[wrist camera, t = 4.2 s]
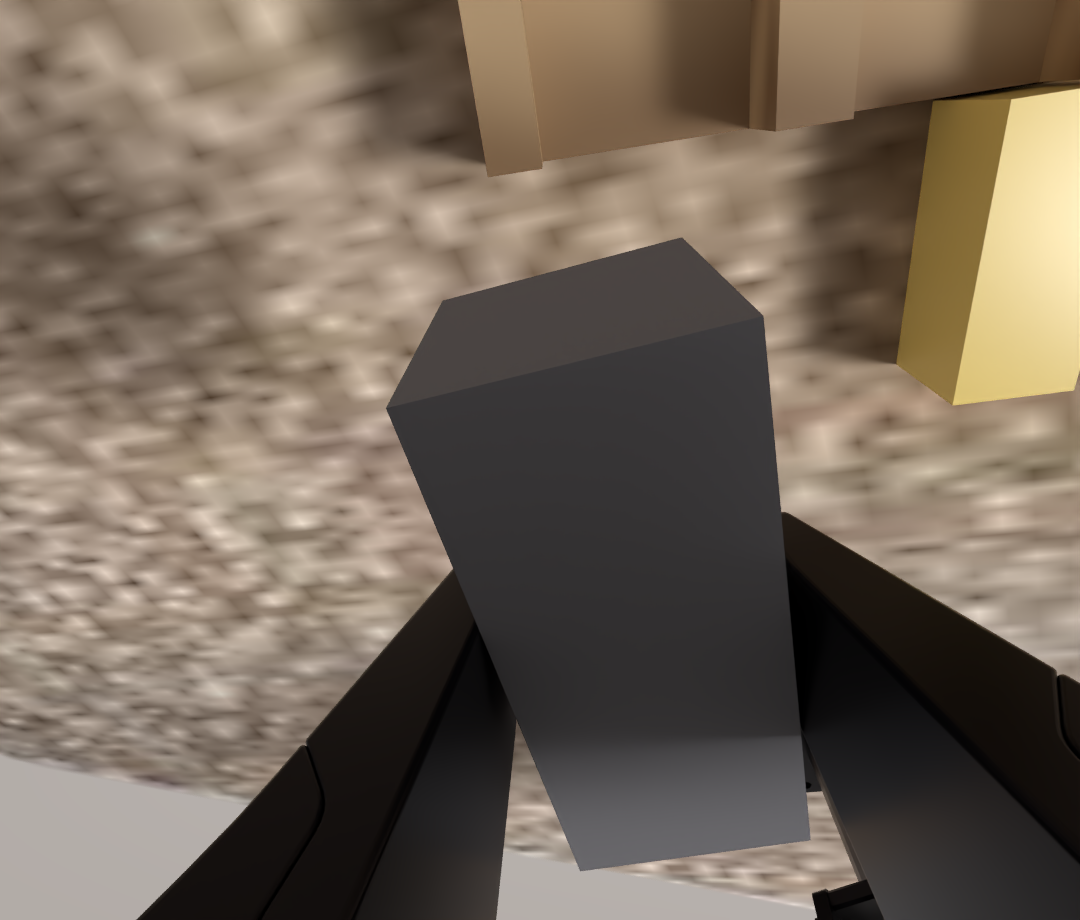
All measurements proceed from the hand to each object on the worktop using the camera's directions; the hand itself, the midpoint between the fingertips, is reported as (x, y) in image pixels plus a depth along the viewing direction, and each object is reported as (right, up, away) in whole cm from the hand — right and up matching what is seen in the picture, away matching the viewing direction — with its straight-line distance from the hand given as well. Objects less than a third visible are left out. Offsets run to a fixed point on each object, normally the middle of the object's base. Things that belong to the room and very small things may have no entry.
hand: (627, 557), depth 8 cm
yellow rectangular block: (+11, +8, +9) cm, 16 cm away
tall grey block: (0, +1, +1) cm, 1 cm away
